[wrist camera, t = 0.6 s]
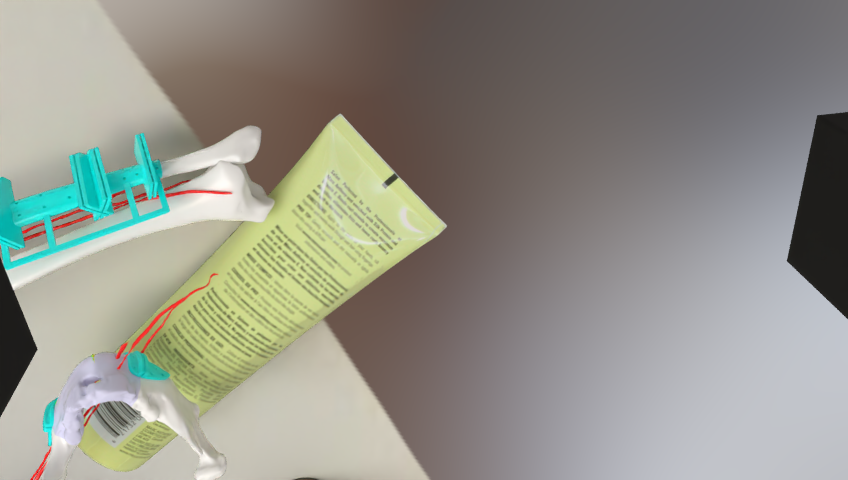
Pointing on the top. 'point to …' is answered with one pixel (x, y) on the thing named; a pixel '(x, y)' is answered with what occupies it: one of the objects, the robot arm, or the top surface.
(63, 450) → the bone model
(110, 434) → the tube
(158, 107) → the top surface
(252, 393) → the top surface
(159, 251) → the top surface
